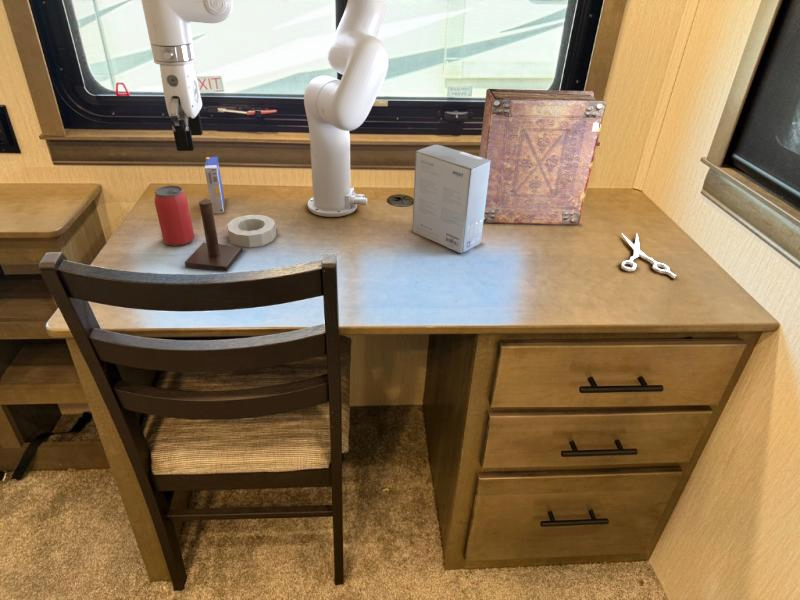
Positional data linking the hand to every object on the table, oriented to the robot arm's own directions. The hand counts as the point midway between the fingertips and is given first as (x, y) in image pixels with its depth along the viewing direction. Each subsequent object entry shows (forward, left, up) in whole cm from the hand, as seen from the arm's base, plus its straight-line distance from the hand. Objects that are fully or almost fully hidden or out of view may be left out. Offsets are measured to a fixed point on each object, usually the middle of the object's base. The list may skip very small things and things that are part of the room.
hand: (190, 142), depth 115 cm
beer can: (+5, +3, -22) cm, 23 cm away
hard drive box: (-54, -11, -22) cm, 59 cm away
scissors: (-98, -12, -22) cm, 101 cm away
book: (-73, -27, -22) cm, 81 cm away
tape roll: (-10, -2, -22) cm, 24 cm away
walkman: (+4, -16, -22) cm, 28 cm away
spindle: (-6, +9, -22) cm, 24 cm away
